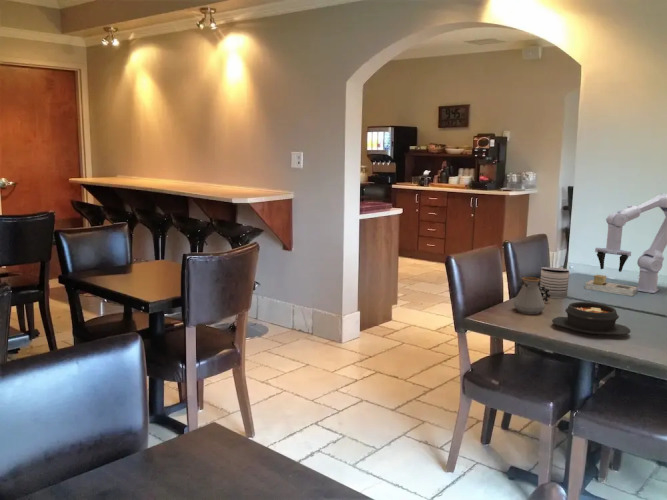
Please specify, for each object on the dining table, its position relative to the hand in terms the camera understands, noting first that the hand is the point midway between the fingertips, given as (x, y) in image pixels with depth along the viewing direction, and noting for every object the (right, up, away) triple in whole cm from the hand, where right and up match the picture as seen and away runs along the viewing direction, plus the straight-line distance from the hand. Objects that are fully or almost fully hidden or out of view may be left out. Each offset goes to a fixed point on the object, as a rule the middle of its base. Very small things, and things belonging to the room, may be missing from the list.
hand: (611, 270), depth 268 cm
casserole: (-35, -19, -60) cm, 72 cm away
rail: (+1, -9, +2) cm, 9 cm away
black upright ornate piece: (-43, -13, -26) cm, 52 cm away
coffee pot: (-51, -15, -42) cm, 68 cm away
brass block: (-3, -9, +5) cm, 10 cm away
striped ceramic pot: (-29, -11, -10) cm, 33 cm away
